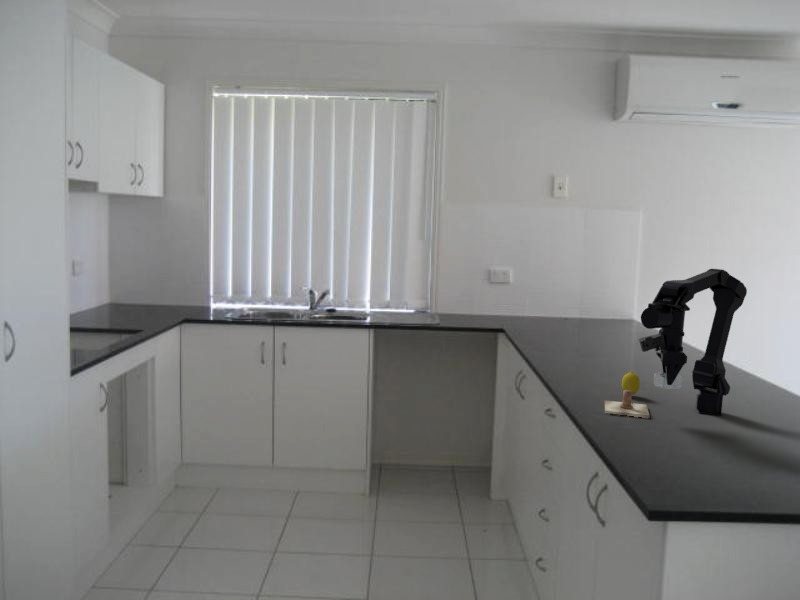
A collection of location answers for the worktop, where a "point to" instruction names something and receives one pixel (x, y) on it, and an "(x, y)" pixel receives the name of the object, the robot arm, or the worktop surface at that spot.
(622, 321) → the worktop surface
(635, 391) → the lemon
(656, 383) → the ring
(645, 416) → the post stand
